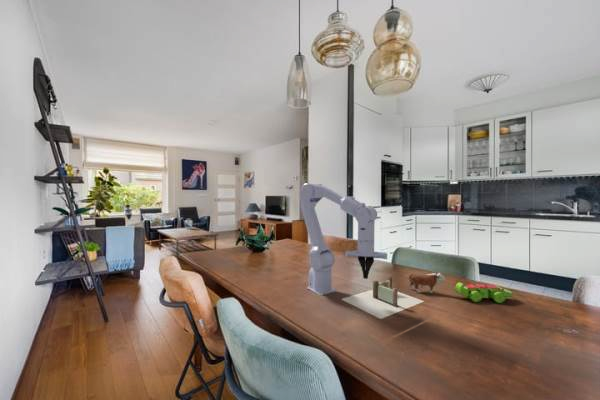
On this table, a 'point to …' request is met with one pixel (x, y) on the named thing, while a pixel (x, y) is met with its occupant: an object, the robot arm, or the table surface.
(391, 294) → the hinged panel
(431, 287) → the bull figurine
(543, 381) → the table surface
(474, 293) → the toy crocodile
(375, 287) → the fixed fence
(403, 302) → the board
